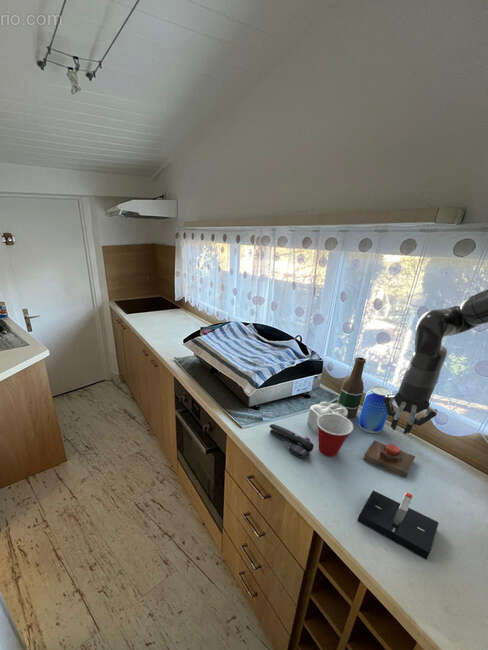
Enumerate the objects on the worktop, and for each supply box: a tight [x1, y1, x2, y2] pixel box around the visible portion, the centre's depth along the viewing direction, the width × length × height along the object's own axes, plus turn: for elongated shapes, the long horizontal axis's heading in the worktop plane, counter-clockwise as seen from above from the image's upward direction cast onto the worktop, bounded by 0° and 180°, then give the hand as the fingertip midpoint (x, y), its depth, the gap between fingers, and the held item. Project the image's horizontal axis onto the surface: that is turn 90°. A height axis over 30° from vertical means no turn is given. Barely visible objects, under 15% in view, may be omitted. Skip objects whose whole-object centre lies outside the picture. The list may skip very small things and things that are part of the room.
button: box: [385, 443, 401, 456], centre depth 97 cm, size 4×4×2 cm
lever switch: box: [356, 489, 440, 560], centre depth 77 cm, size 15×11×3 cm
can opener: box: [269, 423, 315, 459], centre depth 105 cm, size 18×7×6 cm, turn 32°
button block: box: [362, 440, 416, 479], centre depth 98 cm, size 12×10×4 cm
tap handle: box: [392, 492, 414, 528], centre depth 75 cm, size 6×2×6 cm, turn 136°
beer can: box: [357, 385, 393, 434], centre depth 111 cm, size 8×8×16 cm
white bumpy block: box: [306, 401, 348, 435], centre depth 113 cm, size 10×13×9 cm
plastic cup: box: [317, 413, 354, 458], centre depth 100 cm, size 11×11×12 cm
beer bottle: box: [337, 356, 367, 419], centre depth 117 cm, size 8×8×24 cm
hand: (399, 430), depth 93 cm, fingers closed
